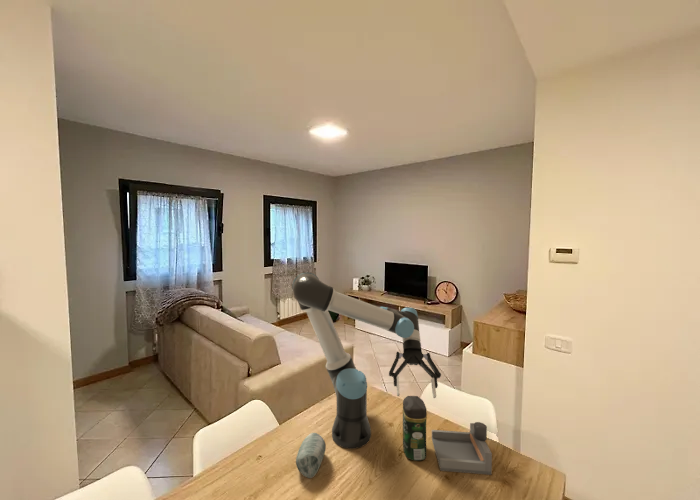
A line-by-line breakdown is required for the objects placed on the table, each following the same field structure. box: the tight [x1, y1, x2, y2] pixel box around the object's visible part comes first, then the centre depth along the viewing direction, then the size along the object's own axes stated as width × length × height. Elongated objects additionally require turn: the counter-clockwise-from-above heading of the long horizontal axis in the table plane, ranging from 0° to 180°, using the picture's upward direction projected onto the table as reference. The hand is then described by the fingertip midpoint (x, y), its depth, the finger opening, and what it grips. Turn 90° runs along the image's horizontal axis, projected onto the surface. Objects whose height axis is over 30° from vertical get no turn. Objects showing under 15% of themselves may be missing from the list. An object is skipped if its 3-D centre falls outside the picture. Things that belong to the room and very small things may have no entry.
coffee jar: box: [402, 395, 428, 462], centre depth 100 cm, size 10×8×19 cm
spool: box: [295, 432, 327, 479], centre depth 94 cm, size 14×10×10 cm
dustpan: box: [431, 421, 493, 476], centre depth 98 cm, size 17×15×11 cm
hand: (416, 396), depth 106 cm, fingers open, 13 cm apart
